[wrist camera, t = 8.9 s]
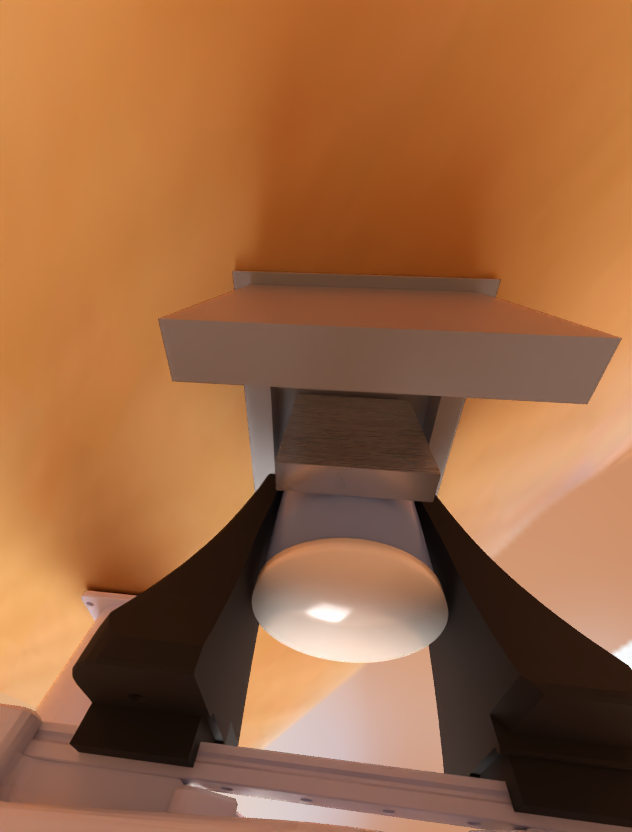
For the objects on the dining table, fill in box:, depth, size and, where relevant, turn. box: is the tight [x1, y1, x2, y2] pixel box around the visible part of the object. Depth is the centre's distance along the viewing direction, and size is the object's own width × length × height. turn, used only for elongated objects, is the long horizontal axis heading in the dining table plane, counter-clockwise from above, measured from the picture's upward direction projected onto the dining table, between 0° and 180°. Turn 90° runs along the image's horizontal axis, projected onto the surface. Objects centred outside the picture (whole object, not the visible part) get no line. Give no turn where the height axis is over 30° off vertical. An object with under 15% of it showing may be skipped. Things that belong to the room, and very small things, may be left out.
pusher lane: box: [158, 271, 622, 496], centre depth 12 cm, size 17×9×6 cm, turn 179°
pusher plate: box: [275, 394, 441, 502], centre depth 10 cm, size 1×4×4 cm, turn 89°
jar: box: [252, 491, 448, 663], centre depth 11 cm, size 5×5×6 cm
